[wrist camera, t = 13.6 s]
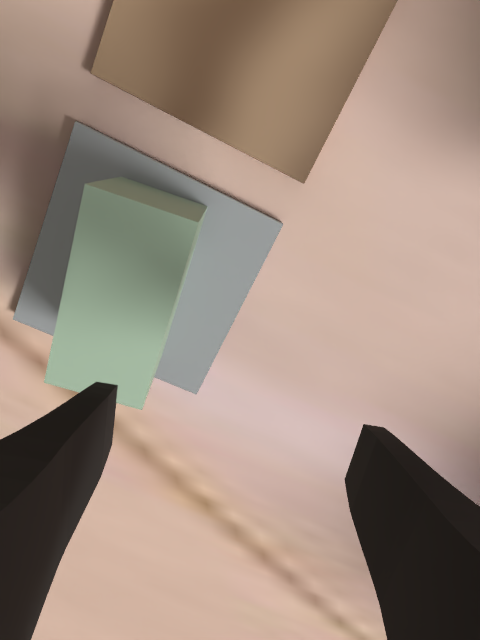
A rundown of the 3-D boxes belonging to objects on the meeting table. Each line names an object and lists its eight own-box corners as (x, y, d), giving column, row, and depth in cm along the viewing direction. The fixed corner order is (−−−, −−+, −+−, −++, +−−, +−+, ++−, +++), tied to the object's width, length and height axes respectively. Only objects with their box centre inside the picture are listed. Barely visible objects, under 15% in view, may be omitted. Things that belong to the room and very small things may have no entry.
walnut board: (425, -61, 17) (432, -69, 16) (302, 182, 20) (304, 183, 19) (188, -217, 15) (186, -232, 15) (95, 75, 18) (90, 73, 18)
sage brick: (207, 206, 20) (198, 222, 15) (161, 356, 22) (141, 409, 18) (121, 176, 19) (84, 183, 15) (85, 333, 22) (44, 382, 17)
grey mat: (281, 222, 21) (283, 224, 20) (197, 388, 24) (196, 394, 23) (80, 122, 19) (75, 121, 18) (18, 315, 22) (12, 319, 22)
